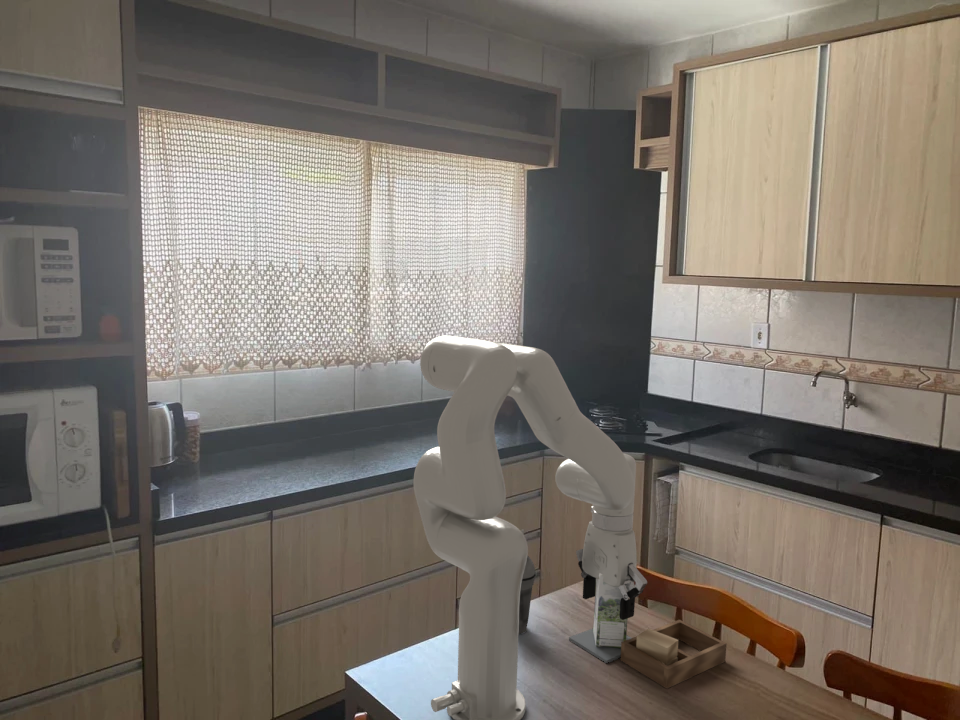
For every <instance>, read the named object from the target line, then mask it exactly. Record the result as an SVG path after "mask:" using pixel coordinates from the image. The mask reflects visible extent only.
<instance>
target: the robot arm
mask: <svg viewBox="0 0 960 720" xmlns="http://www.w3.org/2000/svg"><path fill="white" fill-rule="evenodd" d="M419 366H420V370H421V374H422V376H423V377H424V379H425V380H426V381H427V383H428V384H430V385H431V386H433V387H435V388H436V389H440V390H443V391H448V392H453V394H452V395H451V397H450V398H449V400H448V402H447V404H446V406H445V407H444V409H443V411H442V413H441V415H440V417H439V420H438V423H437V428H436V431H437V432H436V434H437V435H436V436H437V443H438V446H435V447H432V448H430V449H428V450H427V451H426V452H424V453H423V454H422V455H421V457H420V458H419V460H418V462H417V464H416V466H415V468H414V474H413V492H414V496H415V501H416V504H417V507H418V512H419V515H420V520H421V523H422V527H423V530H424V534H425V537H426V540H427V543H428V545H429V548H430V549H431V550H432V552H433V553H434V554H435V555H436V556H437V557H438V558H440V559H441V560H443V561H445V562H446V563H449V564H451V565H453V566H455V567H458V568H459V569H461V570H462V571H464V572H466V573H468V574H469V582H468V583H467V585H466V587H465V588H464V589H463V590H462V593H461V595H460V598H459V599H460V600H459V606H458V608H459V609H458V648H457V649H458V652H457V653H458V654H457V680H455V681H452V682H451V689H450V690H448V691H447V692H446V694H445V695H441V696H437V697H435V698H432V699H431V700H430V706H431V709H432V711H433V712H435V713H437V712H440V711H442V710H445V709H446V712H447V714H448V716H449V717H451V718H452V719H453V720H521V719H523V717H524V715H525V714H526V708H527V707H526V706H527V705H526V703H527V702H526V698H525V697H524V695H523V693H522V692H521V691H520V690H519V689H518V688H517V686H518V684H517V683H518V659H519V658H518V656H519V634H518V633H519V603H520V590H521V583H522V578H523V573H524V569H525V565H526V561H527V556H529V554H528V553H529V546H528V541H527V538H526V537H525V534H524V535H523V533H522V532H521V530H520V528H518V527H517V526H516V525H514V524H513V523H511V522H509V521H507V520H505V519H503V518H500V517H498V515H499V514H500V513H501V512H502V510H503V509H504V507H505V505H506V504H505V503H506V500H507V499H506V498H507V491H506V483H505V479H504V473H503V469H502V464H501V459H500V456H499V451H498V447H497V446H498V445H497V441H496V440H497V439H496V434H495V425H496V424H495V423H496V419H497V416H498V413H499V411H500V409H501V407H502V405H503V404H504V402H505V400H506V398H507V396H508V397H511V398H512V399H513V400H514V401H515V402H516V404H517V406H518V408H519V409H520V412H521V413H522V414H523V416H524V418H525V419H526V421H527V423H528V425H529V427H530V429H531V430H532V432H533V434H534V436H535V437H536V439H537V440H538V441H539V442H541V443H542V444H543V445H544V446H546V447H547V448H548V449H550V450H551V451H553V452H555V453H556V454H559V455H560V456H563V458H567V459H565V460H564V461H562V462H561V463H560V464H559V466H558V467H557V469H556V471H555V477H554V479H555V484H556V487H557V488H558V490H559V491H560V492H561V493H562V494H563V495H565V496H566V497H568V498H571V499H574V500H577V501H581V502H584V503H588V504H591V505H592V506H591V507H590V513H591V520H590V521H589V522H588V525H587V529H586V532H585V536H584V537H585V538H584V542H583V548H581V549H577V550H576V551H575V554H576V558H577V562H578V563H577V564H578V567H579V569H580V571H581V573H580V577H581V578H582V579H583V582H582V584H583V586H582V599H584V600H588V599H592V598H595V588H596V578H597V579H599V573H601V574H602V575H603V582H605V583H606V584H608V585H611V586H613V587H619V589H620V591H621V593H622V595H623V598H621V600H620V619H622V620H624V619H627V618H628V619H630V618H632V617H634V615H635V607H636V606H635V603H636V598H637V597H639V596H640V595H641V594H642V593H643V592H644V590H645V589H646V587H647V585H648V581H647V579H646V578H645V577H644V575H643V574H642V573H641V572H640V571H639V569H638V568H637V564H638V563H637V561H638V560H637V558H638V557H637V544H636V543H637V541H636V535H635V531H634V530H633V528H634V527H633V526H634V511H635V494H636V475H637V462H636V460H635V458H634V457H633V456H631V454H627V453H624V452H623V451H622V450H621V449H620V447H619V446H618V444H616V443H615V441H614V440H612V439H611V437H610V436H609V435H607V434H606V433H605V432H604V431H603V430H602V429H600V428H599V427H598V426H597V425H596V424H595V422H593V421H591V419H589V418H588V417H586V415H584V414H583V413H582V412H581V411H580V409H579V407H578V405H577V403H576V400H575V399H574V397H573V395H572V393H571V391H570V390H569V389H570V388H568V385H567V383H566V381H565V380H564V378H563V376H562V374H561V372H560V370H559V367H558V366H557V364H556V362H555V360H554V358H553V357H551V355H550V354H549V353H548V352H547V351H544V350H543V349H540V348H538V347H537V348H536V347H532V346H525V345H518V344H511V343H504V342H495V341H491V340H486V339H480V338H478V339H477V338H470V337H469V338H468V337H463V336H455V335H447V334H446V335H440V336H437V337H434V338H433V339H431V340H430V341H429V342H428V343H427V344H426V345H425V347H424V348H423V349H422V352H421V355H420V361H419ZM627 575H628V576H629V577H630V579H629V580H626V577H627ZM625 580H626V581H625ZM627 584H629V589H630V591H628V590H627V588H626V586H625V585H627Z"/></svg>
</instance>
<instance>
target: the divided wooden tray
mask: <svg viewBox="0 0 960 720" xmlns="http://www.w3.org/2000/svg"><path fill="white" fill-rule="evenodd" d="M653 630H654V631H657V632H659V633H662V634H664V635H667V636H669V637H672V638H675V639H677V640H678V641H679V640H680V641H681V642H683V643H685V644H686V645H688V646H691V647H692V648H694V649H696V650H698V651H699V652H696V653H694V654H692V655H690V654H689V653H687V652H685V651H683V650H682V649H680V648H678V654H677V657H678V662H675V663H673V664H671V665H668V666H667V665H665V664H663V663H662V662H660V661H658V660H656V659H655V658H653V657H651V656H649V655H648V654H646V653H644V652H643V651H641V650H639V649H637V648H636V644H637V636H638V635H636V636H633V637H631V639H628V640H626V641H623V642H621V658H619V659H620V661H621V662H622V661H623V663H624V662H625V663H624V664H626V665H627V664H628V666H629V667H630V668H632V669H634V670H636V671H637V672H639V673H641V675H644V676H645V677H646V678H649V679H650V680H652V681H654V682H655V683H657V684H658V685H660V686H661V687H663V688H665V689H670V688H671V687H674V686H675V685H678V684H680V683H681V682H684V681H686V680H688V679H691V678H693V677H694V676H697V675H699V674H701V673H703V672H706V671H708V670H710V669H712V668H715V667H717V666H719V665H721V664H723V663H725V662H726V660H727V659H726V657H727V643H726V642H725V641H722V640H721V639H719V638H717V637H714V636H713V635H710V634H709V633H707V632H704V631H703V630H700V629H699V628H697V627H695V626H693V625H691V624H689V623H687V622H686V621H683V620H681V619H678V620H677V619H676V620H675V621H672V622H670V623H667V624H664V625H662V626H659V627H657V628H654V629H653Z"/></svg>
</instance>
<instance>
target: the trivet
mask: <svg viewBox="0 0 960 720" xmlns="http://www.w3.org/2000/svg"><path fill="white" fill-rule="evenodd" d="M631 638H632V637H631V636H629V635H627V637H626V640H628V639H631ZM568 640H569V641H570V642H571V641H572V642H571V643H573V644H574V643H575V644H574V645H576V646H578V647H579V648H581V649H582V648H583V649H582V650H584V651H586V652H587V653H589V654H591V655H592V656H593V655H594V656H593V657H595V658H597V659H598V658H599V659H598V660H600V661H601V660H602V662H603V661H604V662H603V663H605V664H606V663H607V664H609V663H611V662H613V660H614V661H616V660H619V659H621V658H620V657H621V648H613V647H597V646H596V644H595V638H594V633H593V628H590V629H588V630H585V631H582V632H579V633H575V634H572V635H571V636H569V637H568ZM618 658H619V659H618ZM608 662H609V663H608Z"/></svg>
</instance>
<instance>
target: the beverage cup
mask: <svg viewBox="0 0 960 720" xmlns="http://www.w3.org/2000/svg"><path fill="white" fill-rule="evenodd" d="M520 531H521V532H522V533H523V535H524V536H525V529H521V530H520ZM534 564H535V563H534V562H533V560H532V558H531V557H530V556H529V555H528V556H527V561H526V565H525V569H524V573H523V578H522V583H521V590H520V603H519V633H518V635H522V634H525V633H526V632H527V628H528V624H529V617H530V609H531V600H532V593H533V586H534V583H535V579H536V570H535V565H534Z"/></svg>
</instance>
